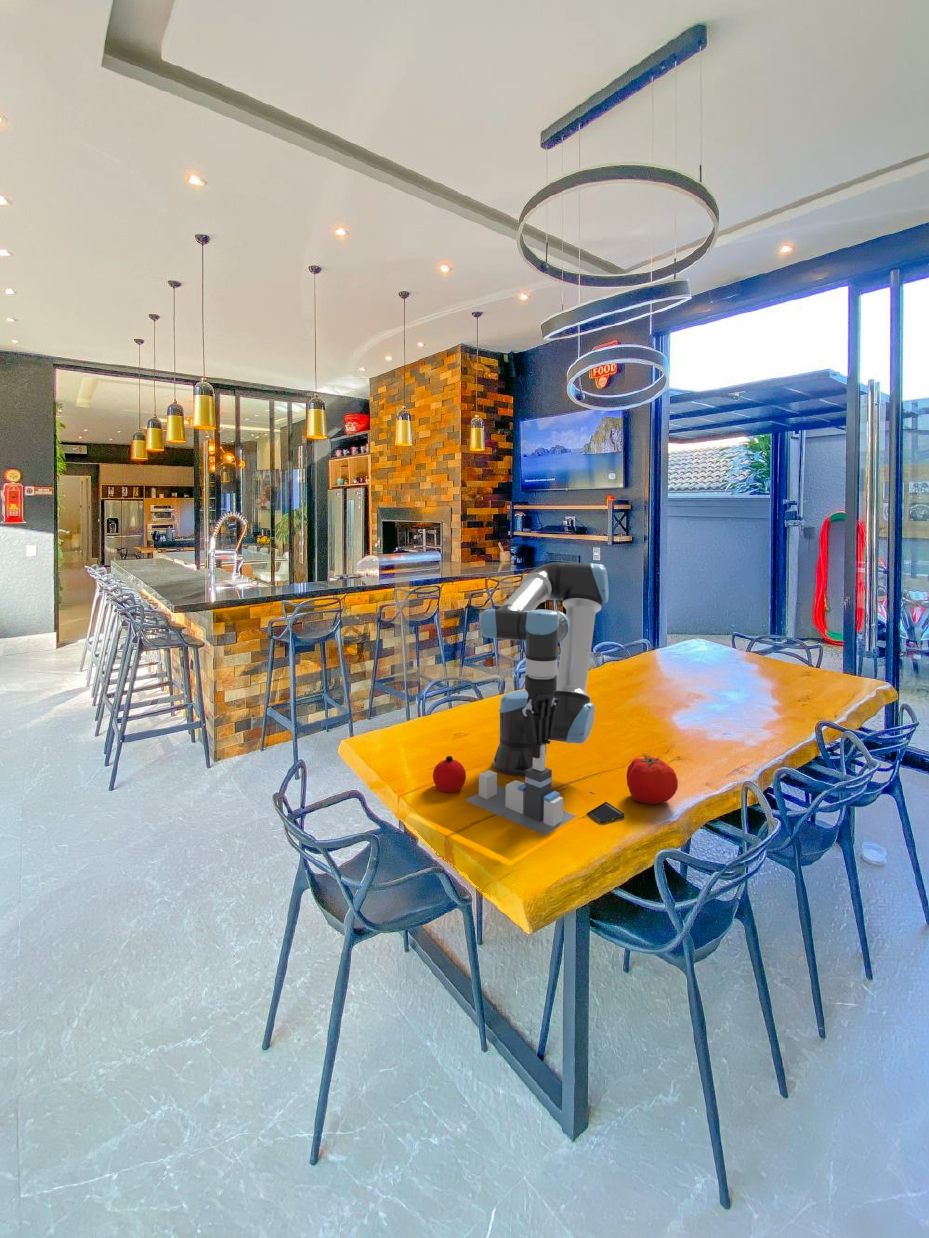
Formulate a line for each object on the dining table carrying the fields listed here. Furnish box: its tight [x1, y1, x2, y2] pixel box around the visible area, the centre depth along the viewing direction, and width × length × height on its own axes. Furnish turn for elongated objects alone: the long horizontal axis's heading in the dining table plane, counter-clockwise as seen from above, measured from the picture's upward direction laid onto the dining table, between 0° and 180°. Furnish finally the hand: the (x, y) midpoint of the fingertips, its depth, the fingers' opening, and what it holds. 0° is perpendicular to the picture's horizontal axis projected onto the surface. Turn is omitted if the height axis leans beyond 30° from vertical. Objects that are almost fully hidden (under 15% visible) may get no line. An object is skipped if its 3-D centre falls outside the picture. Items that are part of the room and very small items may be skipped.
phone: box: [586, 791, 625, 824], centre depth 164 cm, size 8×1×15 cm
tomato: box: [626, 753, 679, 805], centre depth 168 cm, size 12×13×12 cm
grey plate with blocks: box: [464, 769, 577, 838], centre depth 162 cm, size 13×26×8 cm, turn 46°
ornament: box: [432, 755, 467, 794], centre depth 173 cm, size 9×9×10 cm
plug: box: [524, 767, 553, 822], centre depth 157 cm, size 5×5×12 cm
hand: (538, 768), depth 156 cm, fingers closed
